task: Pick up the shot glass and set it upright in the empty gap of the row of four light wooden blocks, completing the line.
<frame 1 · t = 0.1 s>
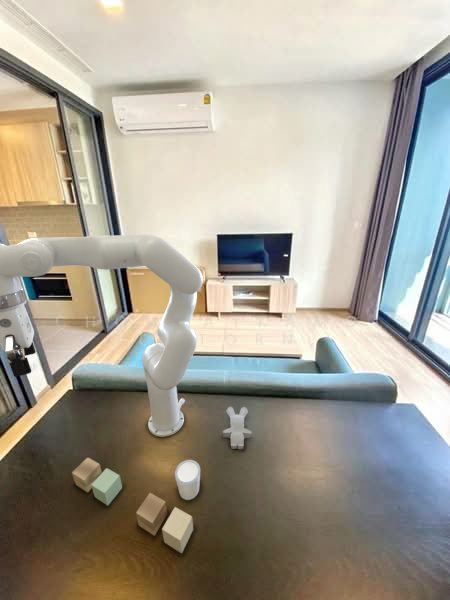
hand: (26, 363, 62), 37 cm above the table, tool pointing down, fingers open, 9 cm apart
block c: (153, 519, 63), on the table
block d: (179, 535, 59), on the table
block b: (108, 492, 69), on the table
block a: (89, 480, 72), on the table
bunny figurine: (237, 431, 87), on the table
shot glass: (189, 489, 69), on the table
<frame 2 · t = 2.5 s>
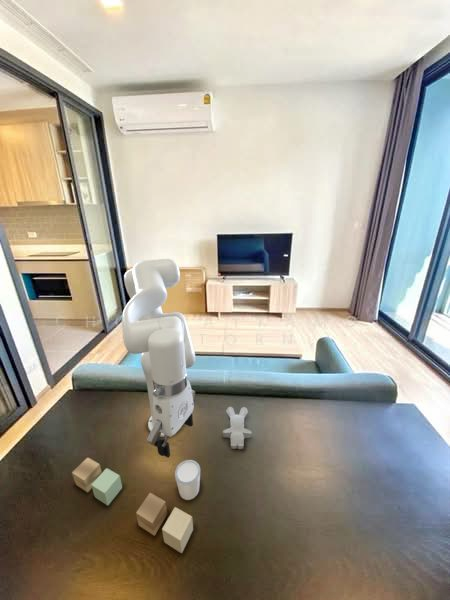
hand: (176, 438, 63), 19 cm above the table, tool pointing down, fingers open, 9 cm apart
nothing on the table moved.
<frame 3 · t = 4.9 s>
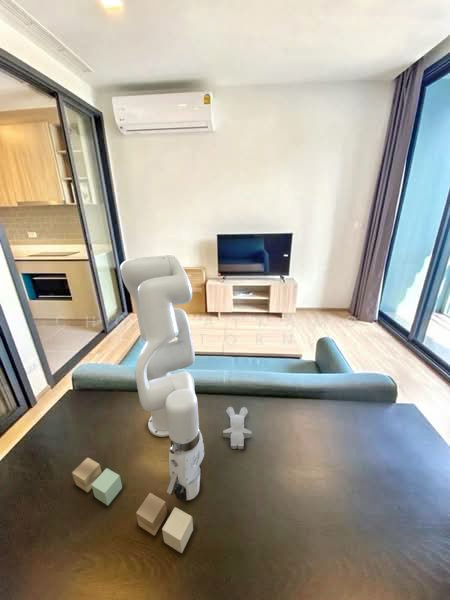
hand: (188, 483, 69), 2 cm above the table, tool pointing down, fingers closed on shot glass, 6 cm apart
shot glass: (189, 489, 69), on the table, touching gripper
everything else where it was.
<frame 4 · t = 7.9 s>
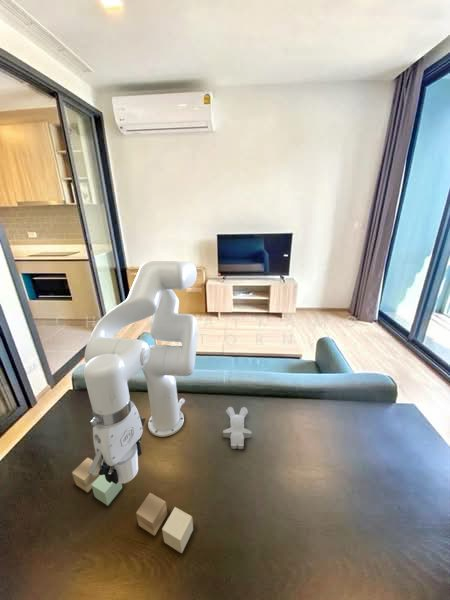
hand: (124, 465, 61), 15 cm above the table, tool pointing down, fingers closed on shot glass, 6 cm apart
shot glass: (126, 472, 61), point 12 cm above the table, touching gripper
everything else where it was.
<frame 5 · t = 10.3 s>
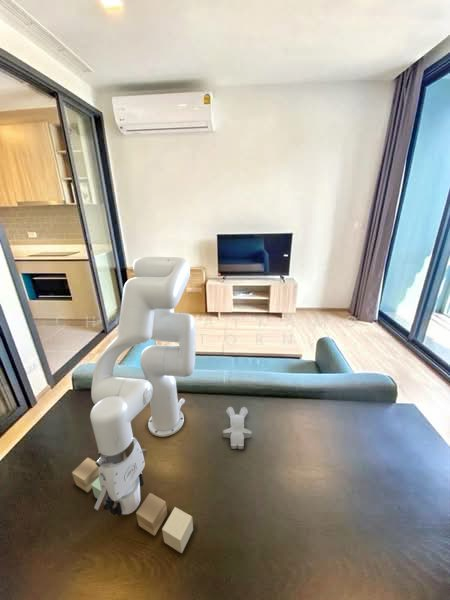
hand: (128, 496, 64), 4 cm above the table, tool pointing down, fingers closed on shot glass, 6 cm apart
shot glass: (129, 502, 65), point 1 cm above the table, touching gripper
everything else where it was.
when the fingers open (2 cm above the table, at t = 11.3 s): shot glass stays where it is, on the table.
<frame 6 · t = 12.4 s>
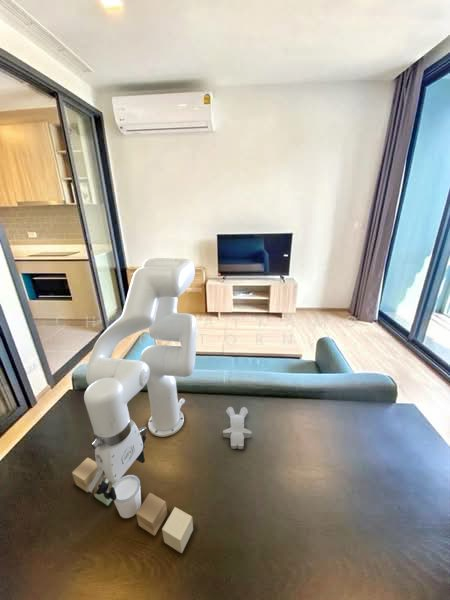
hand: (126, 477, 63), 10 cm above the table, tool pointing down, fingers open, 9 cm apart
shot glass: (130, 506, 66), on the table
everything else where it was.
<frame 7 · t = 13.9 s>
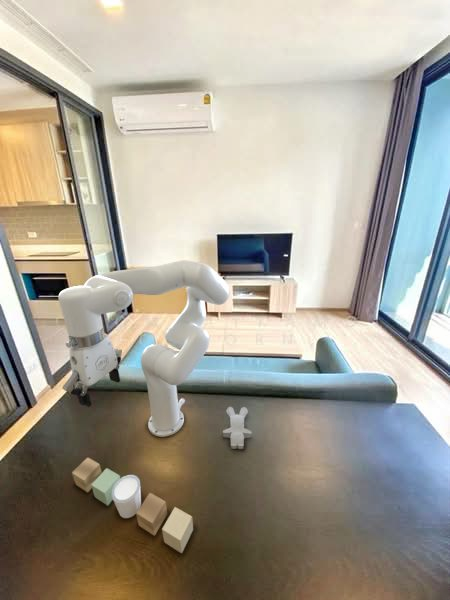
hand: (101, 392, 67), 27 cm above the table, tool pointing down, fingers open, 9 cm apart
nothing on the table moved.
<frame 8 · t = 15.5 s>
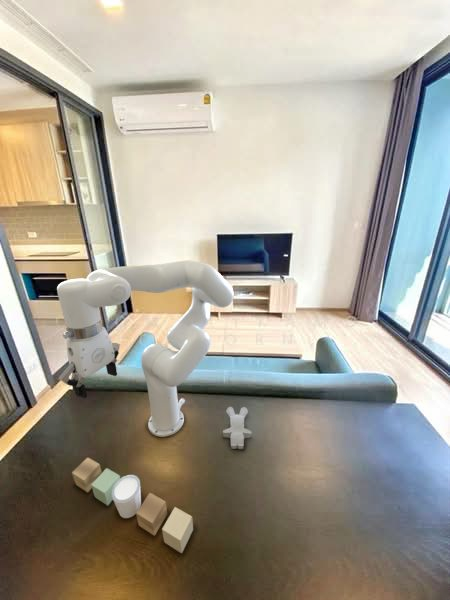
hand: (98, 384, 68), 28 cm above the table, tool pointing down, fingers open, 9 cm apart
nothing on the table moved.
at the end: shot glass 0.1 cm from the target spot, on the table; shot glass tilted 0°; block b moved 0.0 cm from its start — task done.
